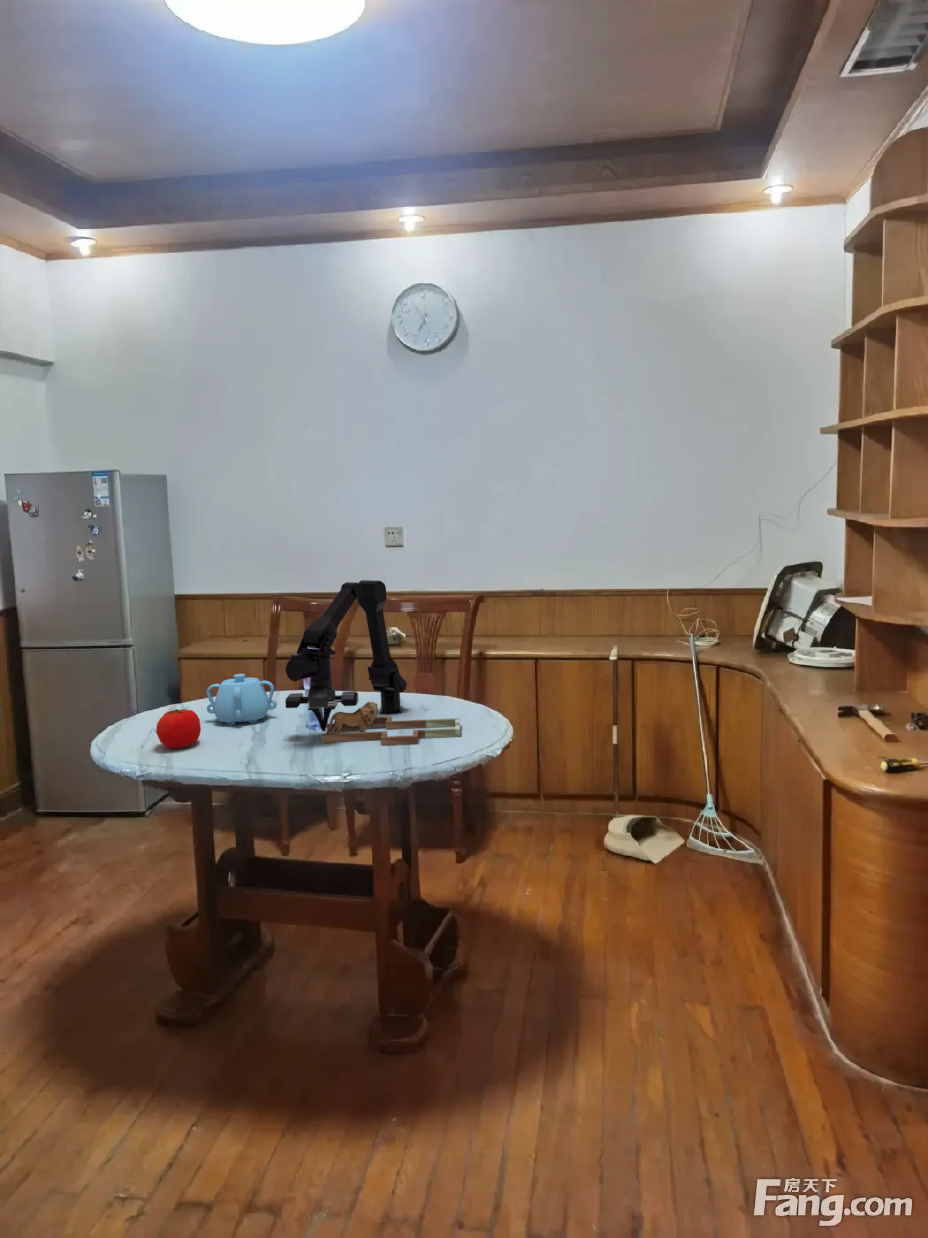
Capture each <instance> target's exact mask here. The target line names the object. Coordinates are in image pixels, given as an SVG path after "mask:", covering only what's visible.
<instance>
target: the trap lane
mask: <svg viewBox="0 0 928 1238" xmlns="http://www.w3.org/2000/svg"><path fill="white" fill-rule="evenodd" d="M333 724H334V723H332V726H333ZM329 725H330V723H327V727H326V730H327V732H328V730H329ZM332 726H331V727H332ZM425 728H426V729H425ZM376 729H377V730H379V729H380V730H381V729H385V731H365V732H360V727H359V726H348V725H346V724H344V723H342V728H341V731H340V733H337V728H335V729H334V731H333V732H334V733H333V734H330V733H329V734H326V733H327V732H326V733H321V742H322V743H323V744H324V743H339V742H341V743H342V742H345V743H346V742H364V741H365V742H366V741H367V742H368V741H371V742H372V741H380V745H381V746H382V747H383V746H401V745H403V746H405V745H407V746H408V745H418V744H419V739H435V738H438V739H439V738H457V737H459V738H460V737H461V718H460V717H458V718H433V719H413V720H412V719H407V720H405V719H404V720H393V716H377V717H376V718H375V720H373V722H372V723H371V724H370V725H366V730H376ZM401 729H402V730H407V729H413V731H412V735H411V734H410V735H394V736H390V735H389V736H388V730H401ZM330 731H331V730H330Z"/></svg>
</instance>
